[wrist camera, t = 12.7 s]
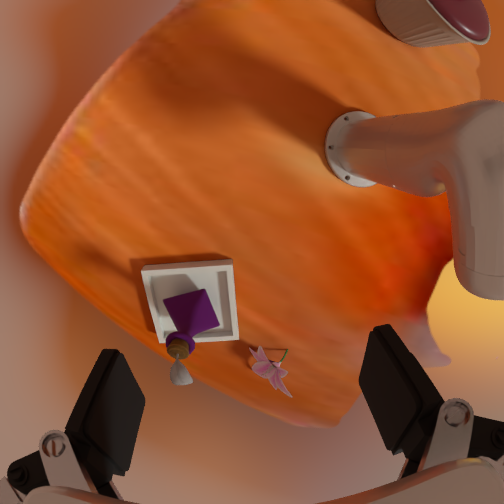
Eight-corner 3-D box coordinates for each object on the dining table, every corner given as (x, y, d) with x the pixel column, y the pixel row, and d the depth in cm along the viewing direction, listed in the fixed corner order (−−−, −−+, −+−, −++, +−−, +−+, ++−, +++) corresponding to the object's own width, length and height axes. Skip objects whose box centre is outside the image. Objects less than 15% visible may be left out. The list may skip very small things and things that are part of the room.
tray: (232, 258, 45) (232, 264, 43) (238, 332, 50) (239, 339, 48) (144, 265, 44) (140, 270, 42) (161, 335, 49) (159, 342, 47)
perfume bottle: (165, 290, 45) (139, 362, 28) (206, 278, 45) (196, 352, 28) (182, 324, 48) (167, 400, 31) (220, 314, 48) (219, 392, 31)
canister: (376, -27, 26) (431, -71, 6) (443, 28, 30) (510, 8, 10) (345, 15, 31) (409, -39, 11) (422, 78, 35) (505, 64, 15)
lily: (262, 318, 51) (241, 356, 44) (318, 343, 49) (304, 384, 41) (249, 350, 58) (230, 383, 51) (296, 371, 56) (282, 407, 49)
